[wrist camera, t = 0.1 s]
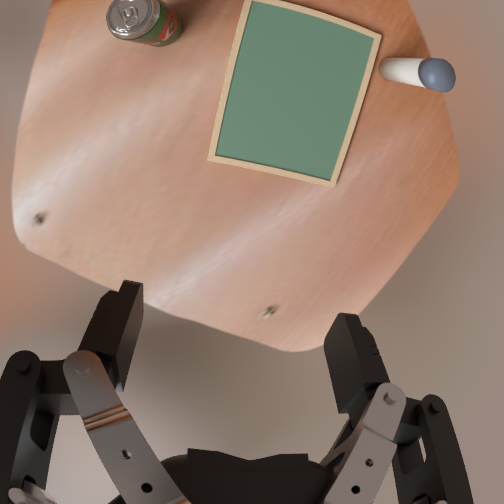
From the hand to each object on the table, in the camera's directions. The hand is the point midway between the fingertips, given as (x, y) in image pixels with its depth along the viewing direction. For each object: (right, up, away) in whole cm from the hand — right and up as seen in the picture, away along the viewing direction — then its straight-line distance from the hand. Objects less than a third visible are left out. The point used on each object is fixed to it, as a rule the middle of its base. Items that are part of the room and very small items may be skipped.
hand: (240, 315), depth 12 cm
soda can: (-10, +29, +16) cm, 34 cm away
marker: (+18, +25, +19) cm, 36 cm away
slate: (+5, +22, +21) cm, 31 cm away
